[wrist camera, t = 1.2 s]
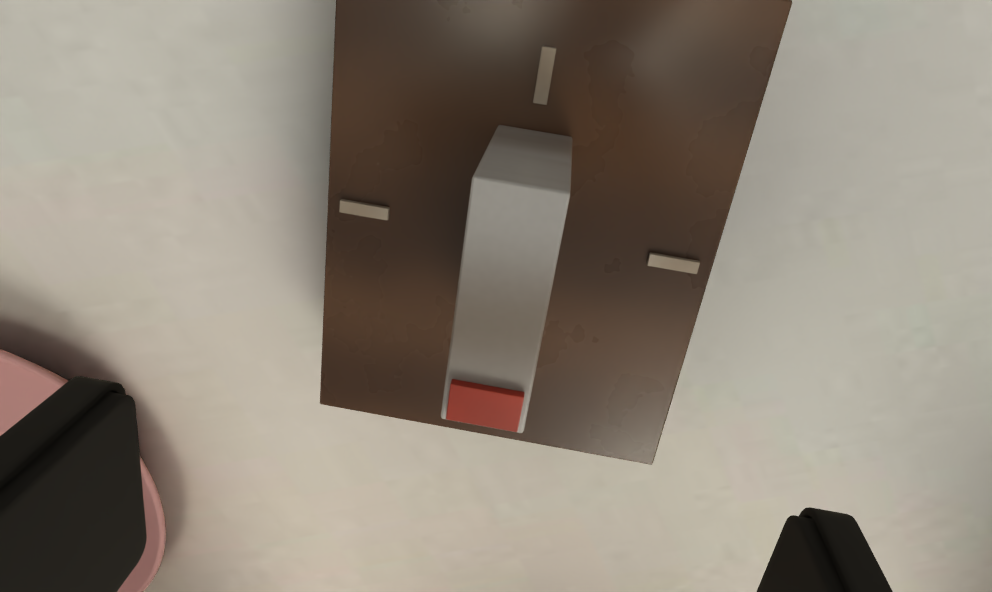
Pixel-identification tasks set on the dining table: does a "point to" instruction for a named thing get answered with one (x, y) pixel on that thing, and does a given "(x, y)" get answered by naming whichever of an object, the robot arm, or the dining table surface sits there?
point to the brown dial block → (592, 205)
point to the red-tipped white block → (506, 276)
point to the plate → (24, 385)
